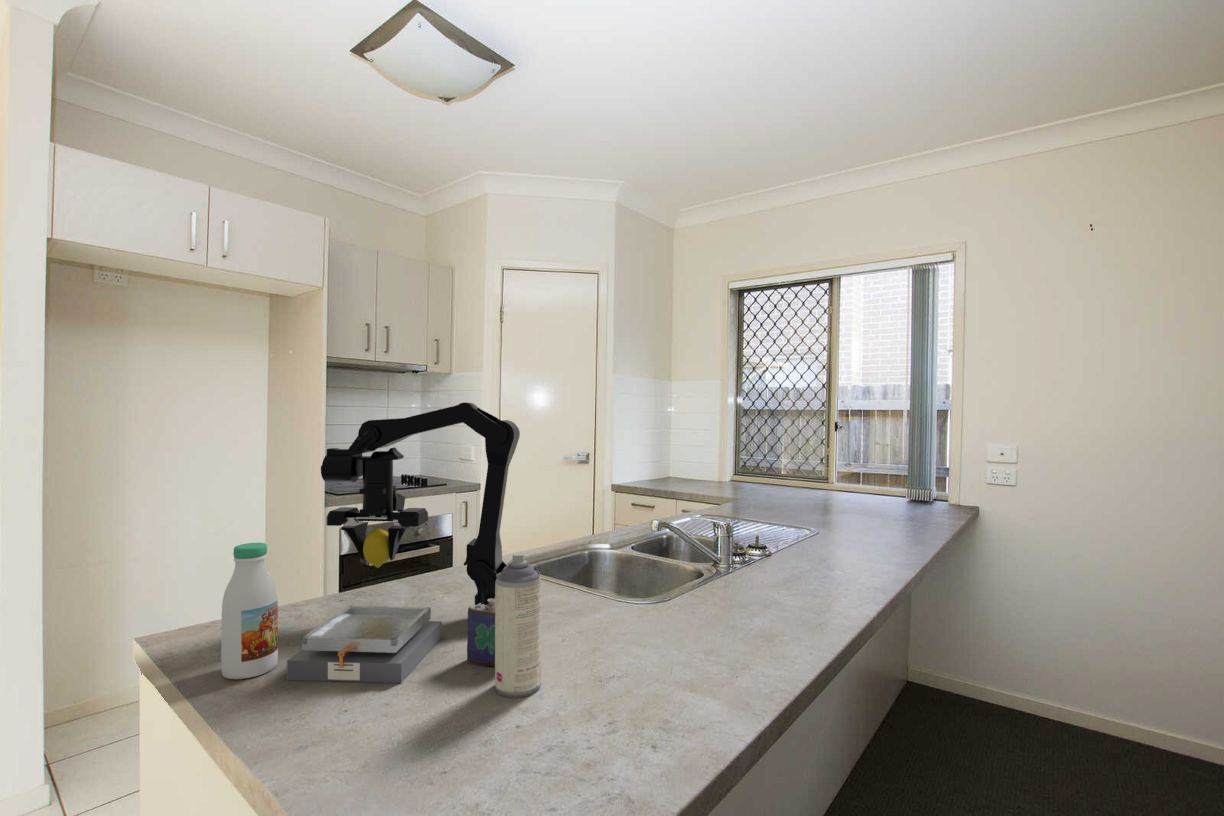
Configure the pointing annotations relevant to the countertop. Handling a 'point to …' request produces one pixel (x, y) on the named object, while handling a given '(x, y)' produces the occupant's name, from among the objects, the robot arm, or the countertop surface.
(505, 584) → the aerosol can
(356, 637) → the scale pan
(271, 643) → the milk bottle
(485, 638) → the flask
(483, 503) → the robot arm
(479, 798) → the countertop surface
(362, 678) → the base
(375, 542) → the lemon
